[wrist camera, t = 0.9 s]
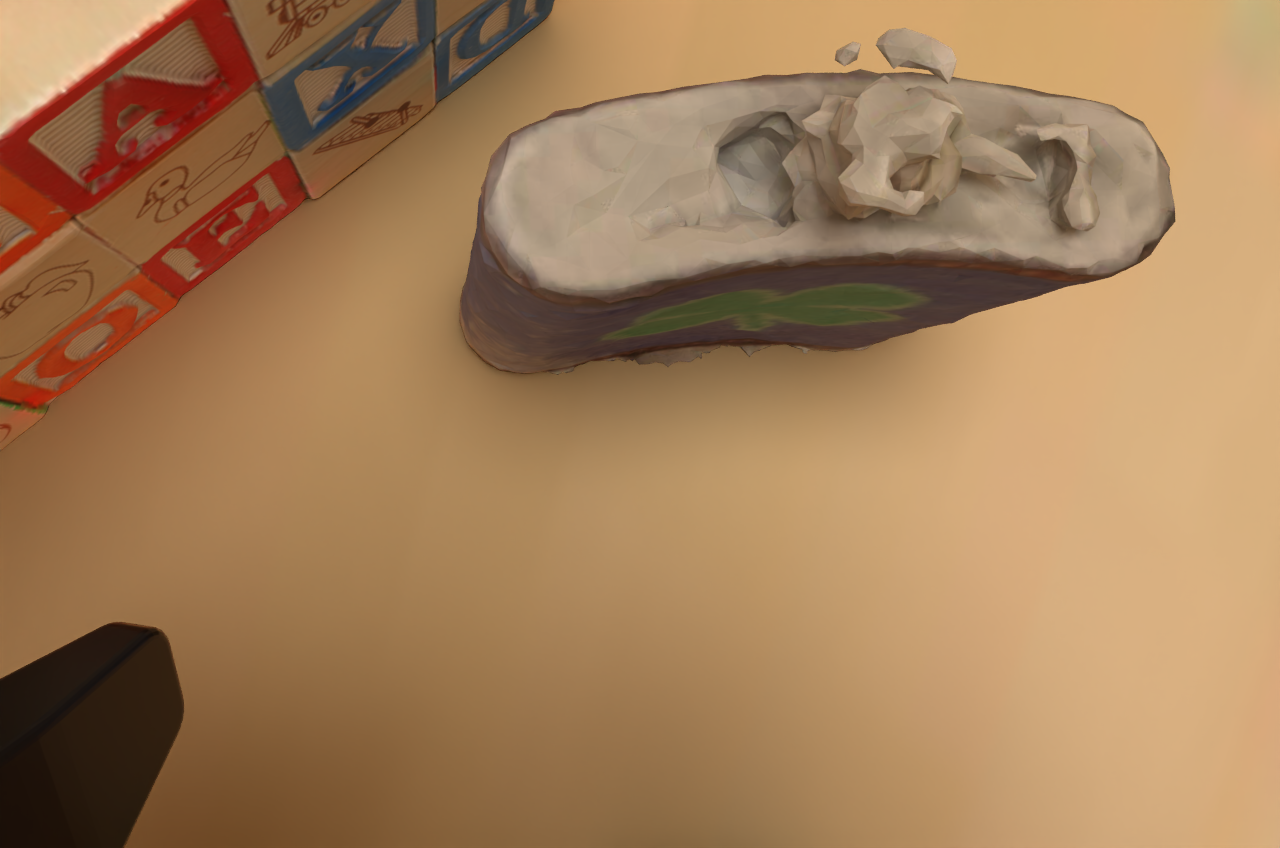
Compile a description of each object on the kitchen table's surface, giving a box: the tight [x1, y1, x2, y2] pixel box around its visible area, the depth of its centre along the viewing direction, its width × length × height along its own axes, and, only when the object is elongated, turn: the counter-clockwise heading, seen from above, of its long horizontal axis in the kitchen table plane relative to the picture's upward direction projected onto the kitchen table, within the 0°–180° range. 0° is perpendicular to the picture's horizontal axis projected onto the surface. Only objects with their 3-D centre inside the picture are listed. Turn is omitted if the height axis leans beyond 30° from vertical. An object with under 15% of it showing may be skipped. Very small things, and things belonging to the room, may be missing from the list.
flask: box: [460, 28, 1175, 375], centre depth 17 cm, size 9×3×11 cm, turn 95°
